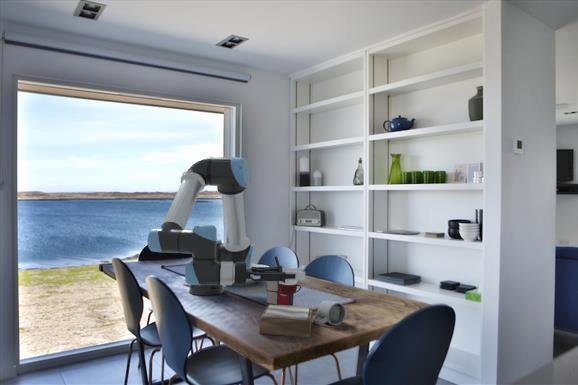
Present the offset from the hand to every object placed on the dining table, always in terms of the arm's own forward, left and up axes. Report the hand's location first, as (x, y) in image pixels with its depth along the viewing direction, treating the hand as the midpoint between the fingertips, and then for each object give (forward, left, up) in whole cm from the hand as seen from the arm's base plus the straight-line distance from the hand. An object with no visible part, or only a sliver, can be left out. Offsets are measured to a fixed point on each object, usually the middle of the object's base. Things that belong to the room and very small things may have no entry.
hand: (302, 273), depth 139 cm
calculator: (-28, -11, -18) cm, 35 cm away
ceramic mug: (-8, +9, -18) cm, 22 cm away
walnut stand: (+1, -5, -18) cm, 19 cm away
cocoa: (+1, -5, -7) cm, 8 cm away
